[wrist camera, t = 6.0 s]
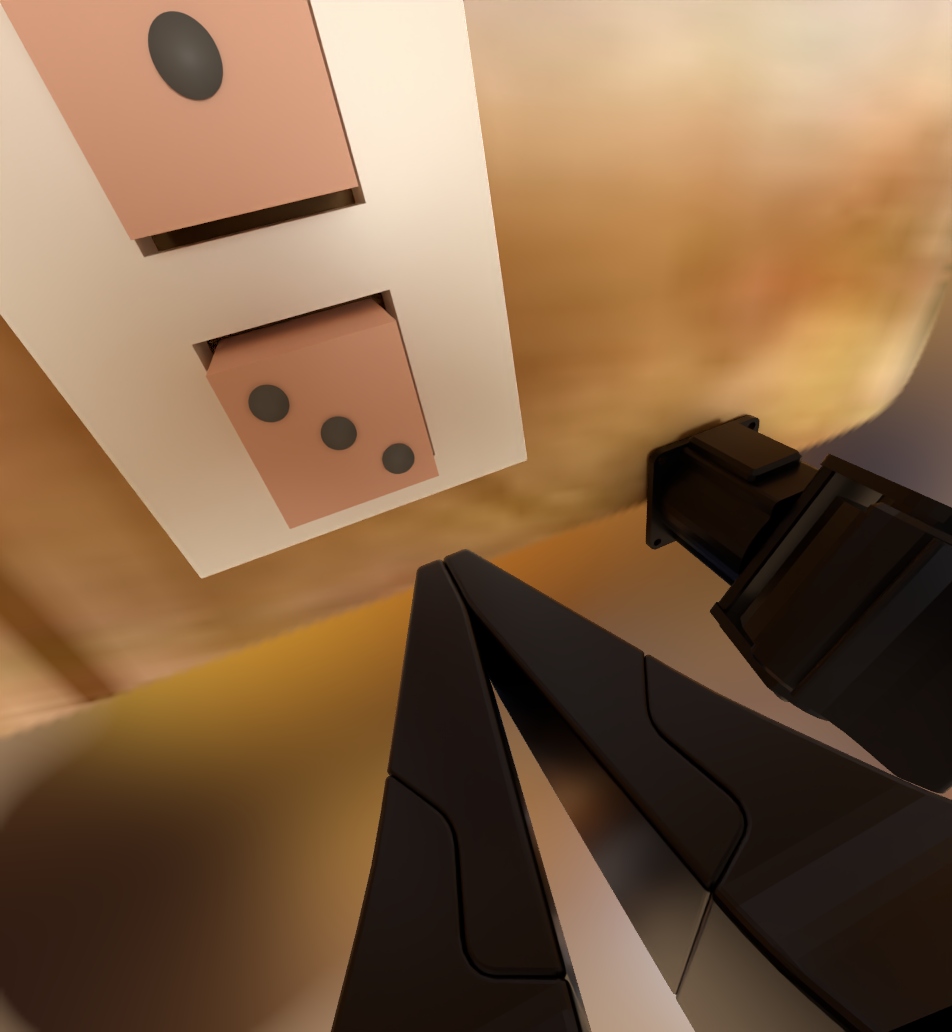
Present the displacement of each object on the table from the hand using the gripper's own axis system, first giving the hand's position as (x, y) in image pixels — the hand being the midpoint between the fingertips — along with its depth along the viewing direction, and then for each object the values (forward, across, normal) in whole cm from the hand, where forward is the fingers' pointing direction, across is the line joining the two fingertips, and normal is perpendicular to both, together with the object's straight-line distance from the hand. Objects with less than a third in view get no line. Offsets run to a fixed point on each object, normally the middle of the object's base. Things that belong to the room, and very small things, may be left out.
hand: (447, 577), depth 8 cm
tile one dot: (+12, +1, -8) cm, 14 cm away
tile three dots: (+12, +1, 0) cm, 12 cm away
